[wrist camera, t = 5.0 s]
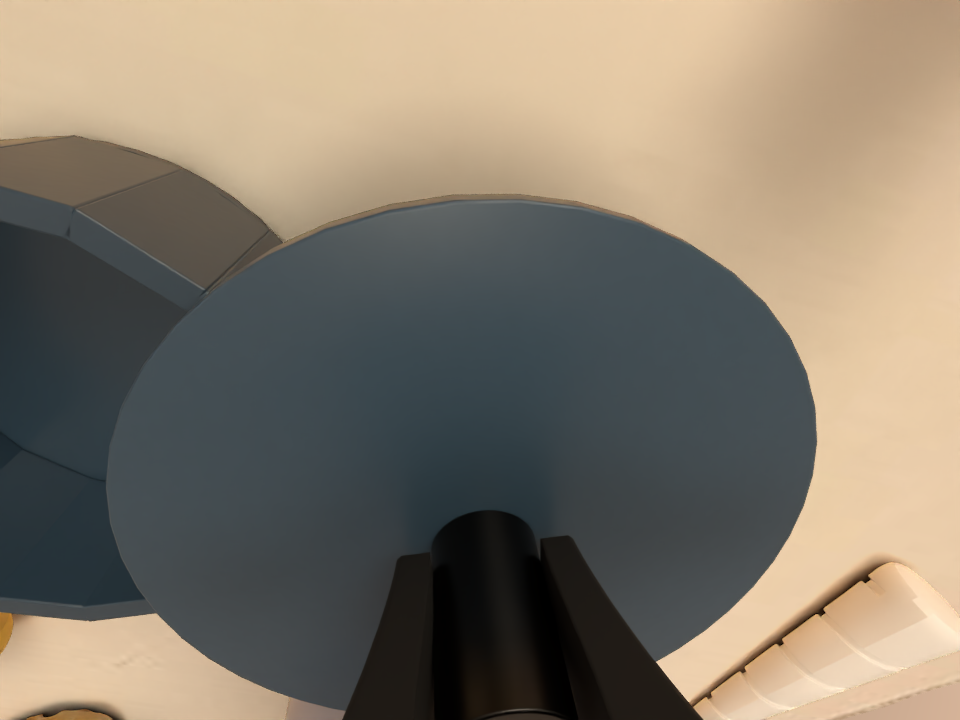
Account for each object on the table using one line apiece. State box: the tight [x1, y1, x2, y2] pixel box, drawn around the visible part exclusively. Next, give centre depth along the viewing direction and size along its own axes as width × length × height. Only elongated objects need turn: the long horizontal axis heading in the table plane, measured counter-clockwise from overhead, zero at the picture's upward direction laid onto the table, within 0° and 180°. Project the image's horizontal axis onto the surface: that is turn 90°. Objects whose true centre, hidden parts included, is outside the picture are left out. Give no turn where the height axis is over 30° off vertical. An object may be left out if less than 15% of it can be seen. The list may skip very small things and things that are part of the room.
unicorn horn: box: [693, 562, 960, 720], centre depth 32 cm, size 5×24×5 cm, turn 144°
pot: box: [0, 135, 283, 621], centre depth 16 cm, size 15×20×6 cm
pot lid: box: [106, 194, 817, 720], centre depth 10 cm, size 16×16×5 cm
